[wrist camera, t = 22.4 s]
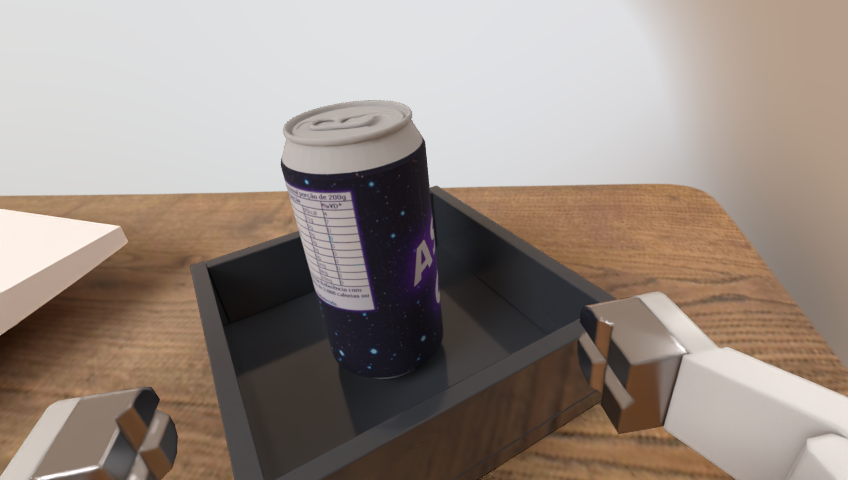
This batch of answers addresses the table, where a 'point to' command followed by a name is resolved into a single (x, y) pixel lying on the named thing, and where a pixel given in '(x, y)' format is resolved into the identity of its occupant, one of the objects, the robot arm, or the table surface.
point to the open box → (405, 395)
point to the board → (46, 258)
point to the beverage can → (367, 232)
